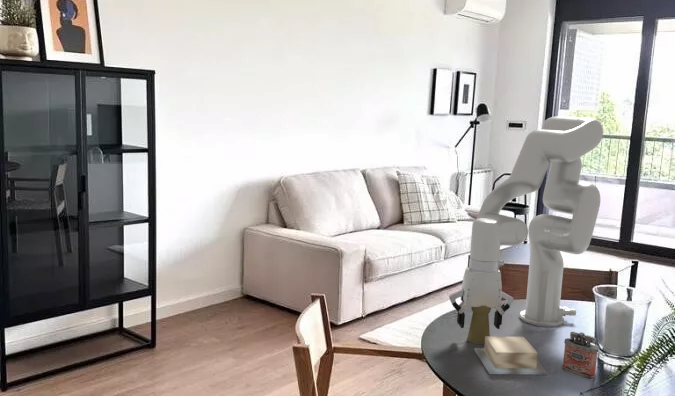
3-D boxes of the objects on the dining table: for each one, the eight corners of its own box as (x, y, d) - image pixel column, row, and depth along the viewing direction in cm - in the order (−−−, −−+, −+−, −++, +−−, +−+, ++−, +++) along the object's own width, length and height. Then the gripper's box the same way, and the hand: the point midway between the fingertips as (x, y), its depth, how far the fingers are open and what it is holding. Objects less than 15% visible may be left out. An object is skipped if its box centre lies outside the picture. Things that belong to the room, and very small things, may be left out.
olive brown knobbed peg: (490, 345, 167) (493, 305, 165) (467, 342, 168) (470, 303, 166) (489, 336, 173) (492, 298, 171) (467, 334, 174) (470, 296, 172)
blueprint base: (527, 350, 164) (528, 334, 163) (547, 374, 150) (548, 356, 150) (474, 350, 164) (475, 333, 163) (489, 374, 150) (490, 355, 149)
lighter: (559, 369, 153) (562, 330, 152) (565, 365, 156) (569, 327, 154) (591, 381, 148) (596, 340, 146) (598, 376, 150) (602, 337, 148)
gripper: (511, 262, 171) (506, 322, 174) (448, 260, 170) (444, 321, 173) (520, 269, 164) (515, 332, 166) (454, 267, 163) (450, 331, 166)
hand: (478, 326), depth 170 cm, fingers open, 9 cm apart
